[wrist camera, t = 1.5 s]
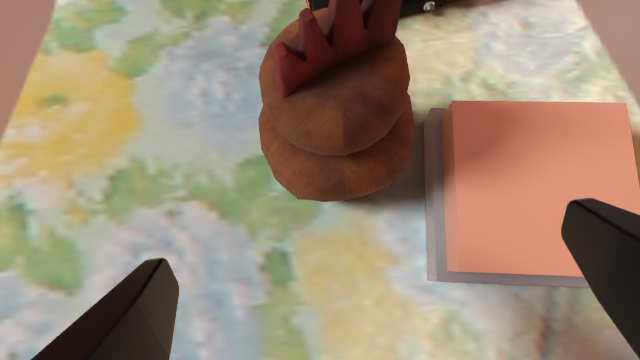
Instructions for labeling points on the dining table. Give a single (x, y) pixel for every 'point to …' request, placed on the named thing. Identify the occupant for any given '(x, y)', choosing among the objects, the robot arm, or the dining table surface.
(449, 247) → the brick plinth
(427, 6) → the black toy car
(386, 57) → the wooden figurine
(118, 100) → the dining table surface
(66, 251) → the dining table surface
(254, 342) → the dining table surface
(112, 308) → the robot arm
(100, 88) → the dining table surface
